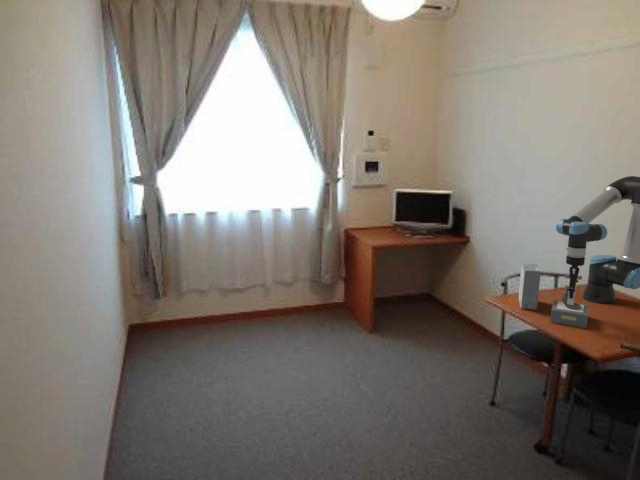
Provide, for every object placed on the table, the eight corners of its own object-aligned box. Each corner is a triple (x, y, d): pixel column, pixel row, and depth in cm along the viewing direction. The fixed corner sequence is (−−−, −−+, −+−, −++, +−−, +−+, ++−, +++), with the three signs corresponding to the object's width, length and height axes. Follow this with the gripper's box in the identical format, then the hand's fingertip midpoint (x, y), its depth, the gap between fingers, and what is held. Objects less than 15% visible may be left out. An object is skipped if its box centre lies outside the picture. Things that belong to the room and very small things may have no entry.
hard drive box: (537, 310, 249) (540, 271, 244) (520, 309, 251) (524, 270, 246) (533, 300, 263) (536, 263, 259) (517, 298, 265) (520, 262, 261)
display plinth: (587, 316, 240) (588, 304, 238) (586, 328, 227) (587, 314, 225) (552, 311, 247) (554, 299, 246) (550, 322, 234) (551, 309, 233)
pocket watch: (582, 309, 231) (584, 289, 229) (562, 308, 233) (564, 288, 231) (578, 303, 239) (579, 283, 237) (558, 302, 241) (560, 282, 238)
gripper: (568, 248, 242) (564, 291, 247) (564, 261, 221) (560, 307, 226) (585, 250, 239) (581, 293, 244) (584, 263, 218) (578, 309, 223)
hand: (571, 300), depth 235 cm, fingers open, 13 cm apart
